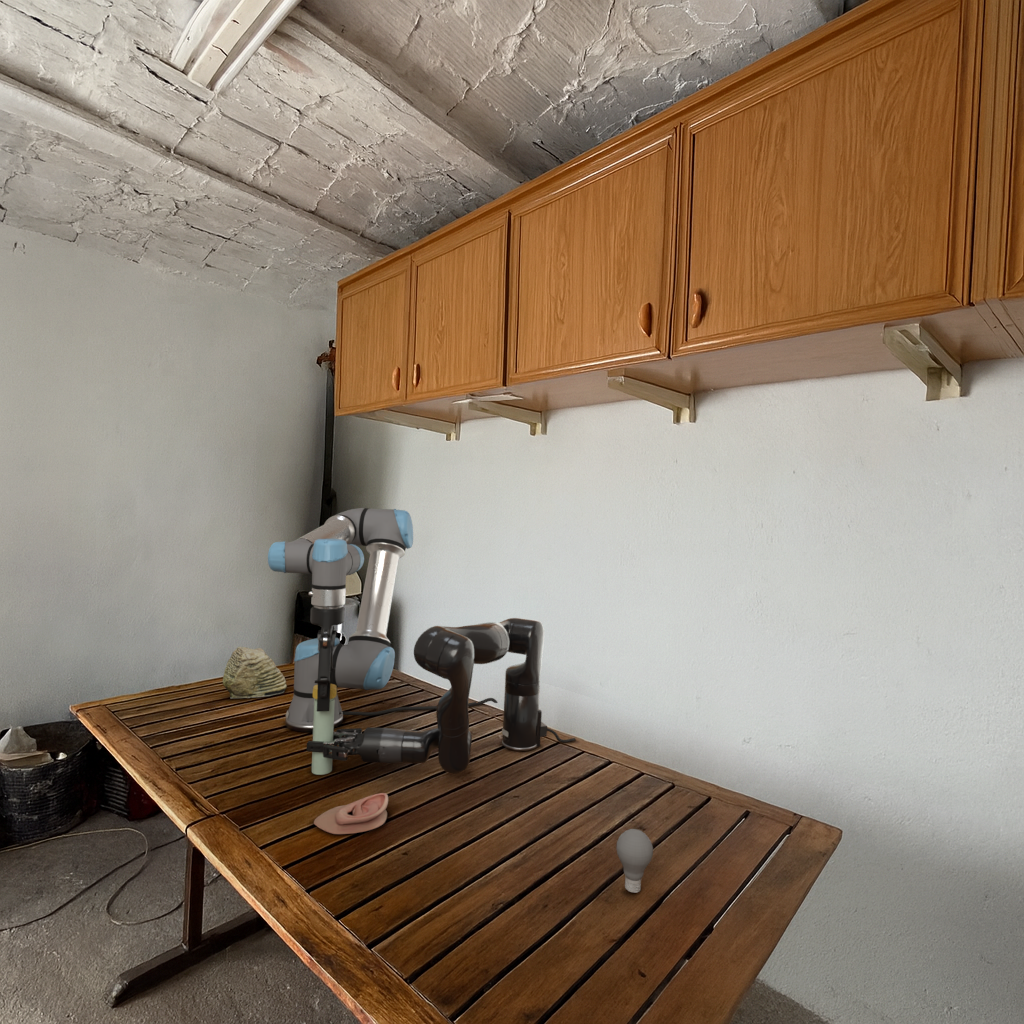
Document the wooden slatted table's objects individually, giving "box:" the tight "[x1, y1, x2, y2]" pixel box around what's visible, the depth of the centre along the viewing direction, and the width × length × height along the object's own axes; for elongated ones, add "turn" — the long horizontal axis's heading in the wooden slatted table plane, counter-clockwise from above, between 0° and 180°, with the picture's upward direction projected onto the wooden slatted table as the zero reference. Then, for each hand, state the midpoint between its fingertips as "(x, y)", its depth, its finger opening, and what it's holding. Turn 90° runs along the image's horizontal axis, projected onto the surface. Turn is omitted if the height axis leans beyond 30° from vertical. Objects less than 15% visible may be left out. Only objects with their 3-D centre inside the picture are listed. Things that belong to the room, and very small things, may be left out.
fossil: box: [222, 646, 288, 699], centre depth 198 cm, size 9×18×15 cm, turn 132°
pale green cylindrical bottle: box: [311, 698, 335, 776], centre depth 146 cm, size 4×4×19 cm
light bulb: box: [615, 828, 654, 894], centre depth 106 cm, size 6×6×10 cm
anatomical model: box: [313, 792, 389, 835], centre depth 124 cm, size 13×4×12 cm
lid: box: [313, 684, 338, 699], centre depth 146 cm, size 5×5×2 cm
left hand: (324, 704), depth 146 cm, fingers open, 7 cm apart
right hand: (311, 741), depth 146 cm, fingers closed on pale green cylindrical bottle, 4 cm apart
